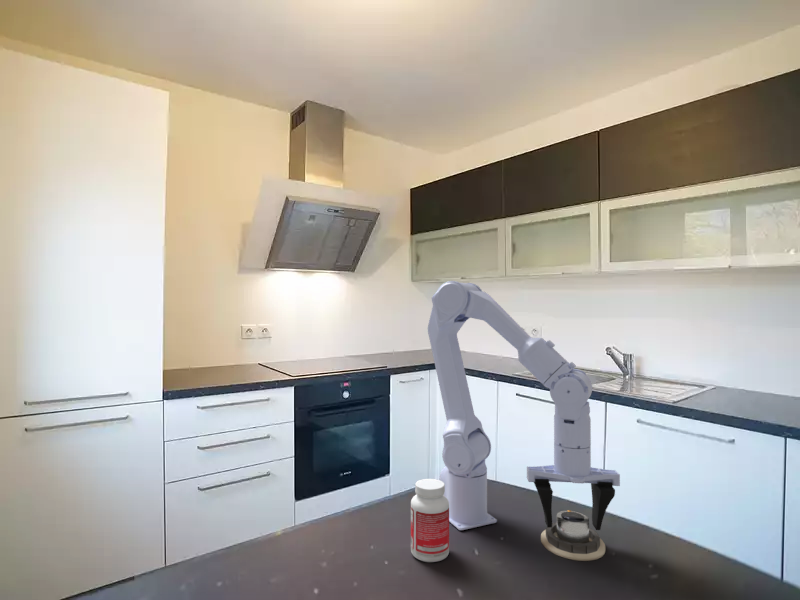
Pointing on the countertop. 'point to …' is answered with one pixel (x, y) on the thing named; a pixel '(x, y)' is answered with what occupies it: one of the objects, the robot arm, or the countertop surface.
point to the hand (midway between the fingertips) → (572, 526)
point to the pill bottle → (430, 521)
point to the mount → (573, 545)
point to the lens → (573, 527)
